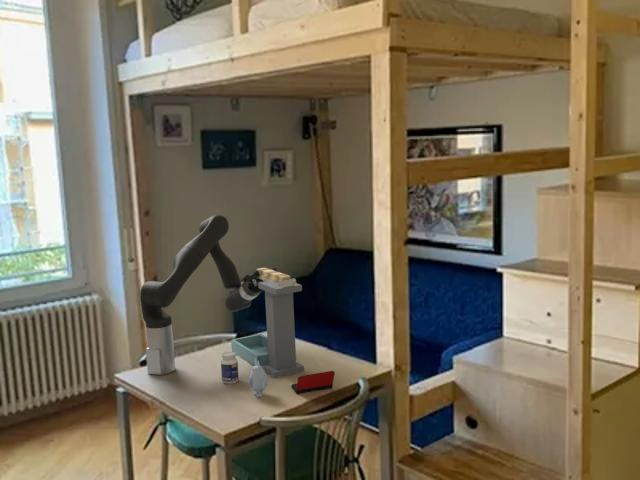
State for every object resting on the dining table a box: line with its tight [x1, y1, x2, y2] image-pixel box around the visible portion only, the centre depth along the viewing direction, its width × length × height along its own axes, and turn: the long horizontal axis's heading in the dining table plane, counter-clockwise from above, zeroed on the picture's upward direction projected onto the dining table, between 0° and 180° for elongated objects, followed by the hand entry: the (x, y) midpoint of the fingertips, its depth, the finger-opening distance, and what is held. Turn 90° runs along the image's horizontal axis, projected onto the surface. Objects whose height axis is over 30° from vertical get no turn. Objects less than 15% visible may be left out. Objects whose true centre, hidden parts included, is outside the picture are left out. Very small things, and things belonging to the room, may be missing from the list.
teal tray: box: [230, 333, 269, 367], centre depth 245 cm, size 25×13×5 cm, turn 30°
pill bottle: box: [220, 351, 239, 385], centre depth 220 cm, size 6×6×10 cm
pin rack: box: [258, 278, 305, 379], centre depth 225 cm, size 14×12×34 cm
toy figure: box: [247, 359, 269, 398], centre depth 206 cm, size 11×6×12 cm, turn 26°
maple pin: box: [256, 267, 291, 283], centre depth 227 cm, size 20×3×3 cm, turn 30°
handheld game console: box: [290, 370, 335, 395], centre depth 210 cm, size 12×11×7 cm
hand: (266, 271), depth 231 cm, fingers open, 6 cm apart
